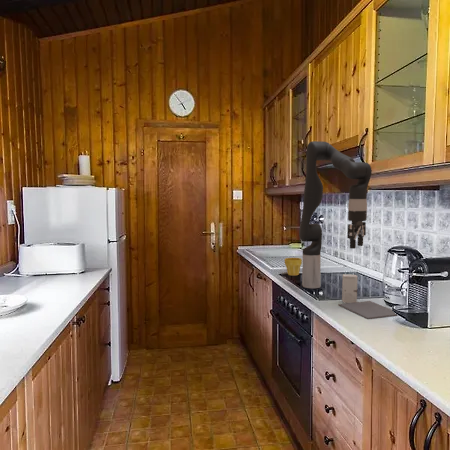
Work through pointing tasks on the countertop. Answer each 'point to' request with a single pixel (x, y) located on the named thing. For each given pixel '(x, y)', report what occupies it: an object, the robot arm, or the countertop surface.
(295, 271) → the plant pot
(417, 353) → the countertop surface
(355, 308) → the mat
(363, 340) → the countertop surface
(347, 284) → the skincare box
